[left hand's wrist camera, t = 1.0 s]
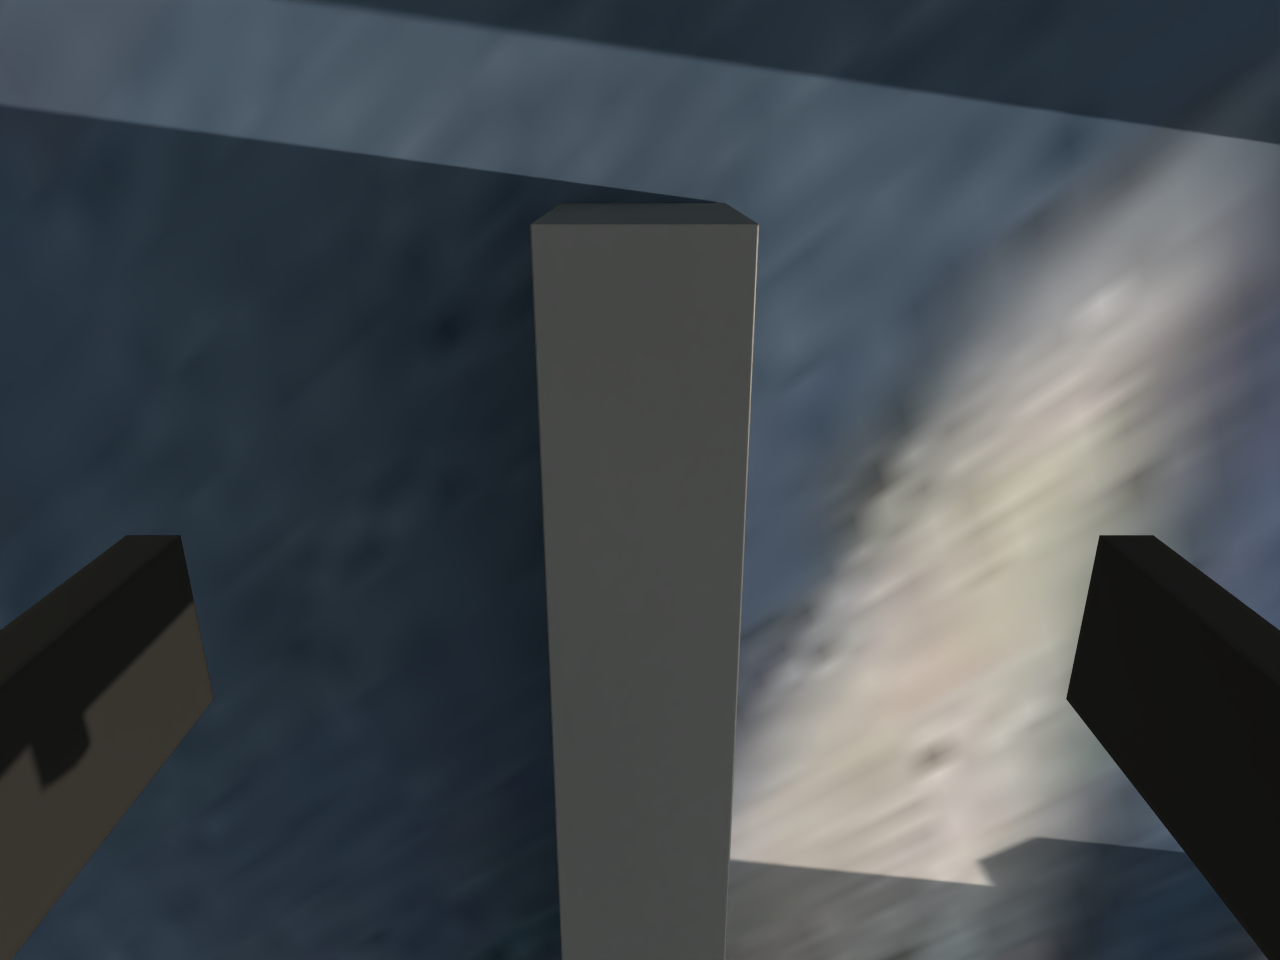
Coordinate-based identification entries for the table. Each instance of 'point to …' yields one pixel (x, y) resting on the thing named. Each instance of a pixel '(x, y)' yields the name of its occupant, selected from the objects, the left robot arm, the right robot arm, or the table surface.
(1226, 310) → the table surface
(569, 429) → the post
